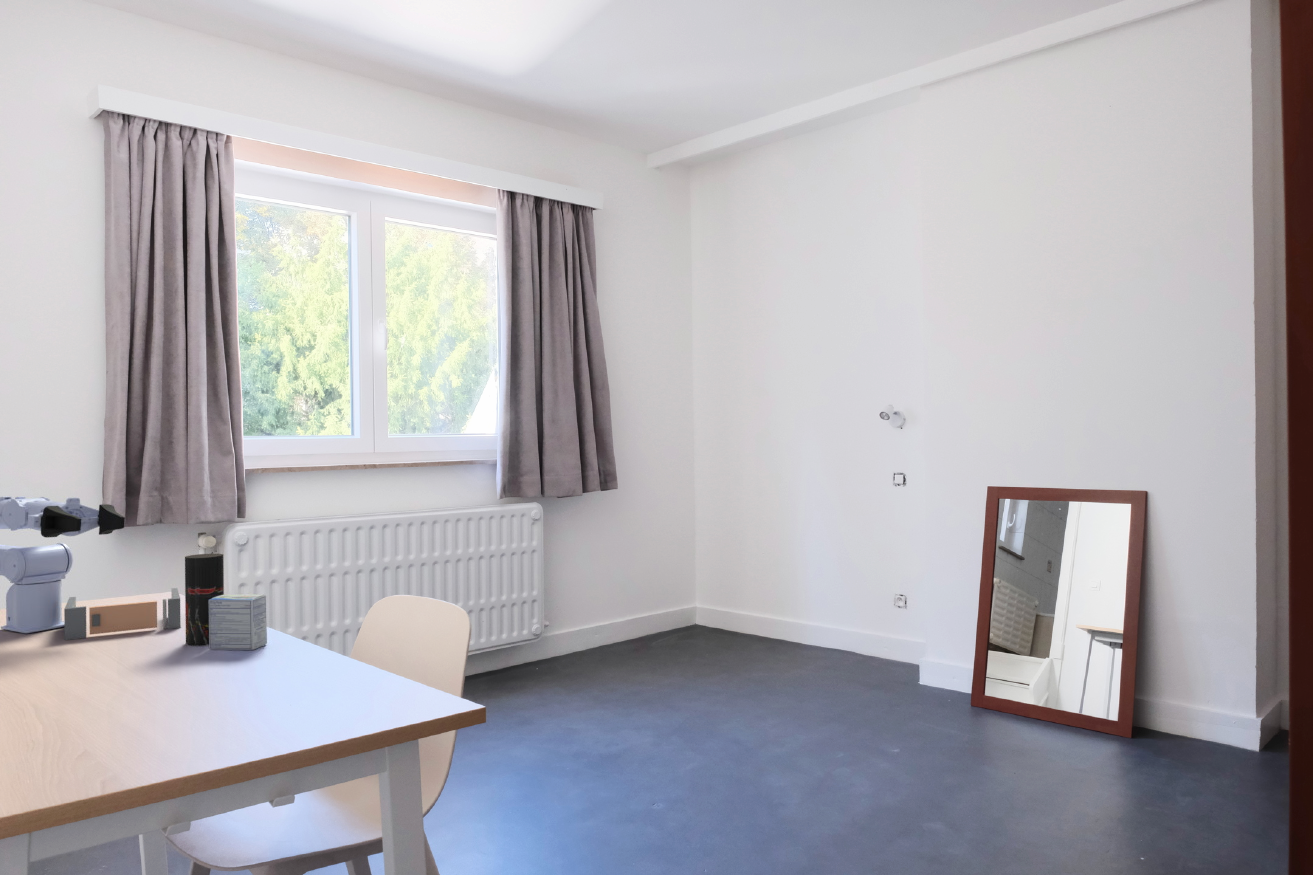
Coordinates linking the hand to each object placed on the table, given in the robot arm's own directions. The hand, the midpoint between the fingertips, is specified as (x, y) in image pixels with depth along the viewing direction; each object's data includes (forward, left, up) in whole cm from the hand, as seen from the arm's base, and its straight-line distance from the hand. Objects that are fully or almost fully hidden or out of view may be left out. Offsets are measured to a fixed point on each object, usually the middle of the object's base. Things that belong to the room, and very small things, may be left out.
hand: (101, 523), depth 154 cm
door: (0, +4, -20) cm, 20 cm away
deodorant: (+20, +6, -21) cm, 30 cm away
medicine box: (+29, +6, -21) cm, 36 cm away
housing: (-6, +7, -20) cm, 22 cm away
